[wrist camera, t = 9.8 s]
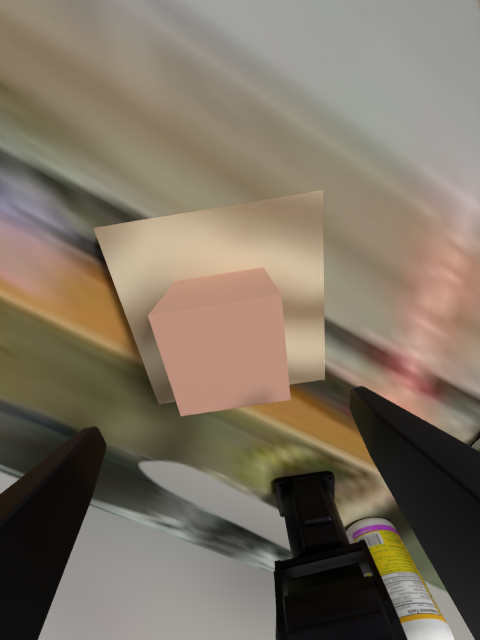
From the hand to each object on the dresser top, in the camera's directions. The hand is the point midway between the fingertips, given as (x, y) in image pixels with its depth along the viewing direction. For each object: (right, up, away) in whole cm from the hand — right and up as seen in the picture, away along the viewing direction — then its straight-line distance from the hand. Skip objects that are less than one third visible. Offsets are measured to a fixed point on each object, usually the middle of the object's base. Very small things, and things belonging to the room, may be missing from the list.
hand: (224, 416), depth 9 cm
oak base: (-1, +4, +10) cm, 11 cm away
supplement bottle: (+17, -24, +24) cm, 38 cm away
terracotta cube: (0, +4, +9) cm, 10 cm away
